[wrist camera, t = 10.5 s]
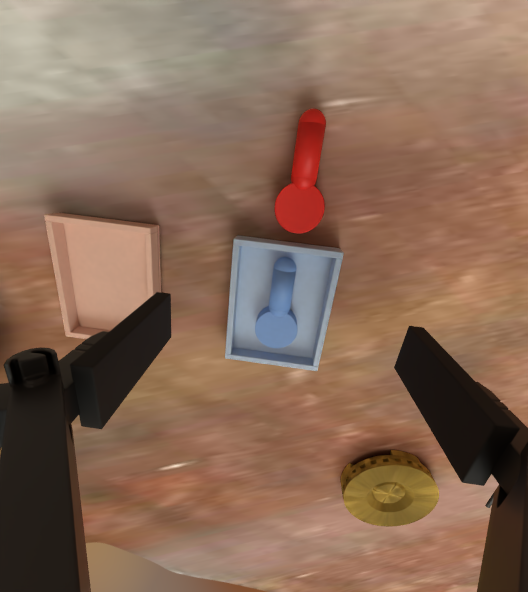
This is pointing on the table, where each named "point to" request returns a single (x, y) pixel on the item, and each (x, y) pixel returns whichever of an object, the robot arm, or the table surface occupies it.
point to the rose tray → (102, 269)
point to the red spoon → (304, 178)
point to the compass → (389, 489)
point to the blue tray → (305, 300)
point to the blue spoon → (279, 308)
